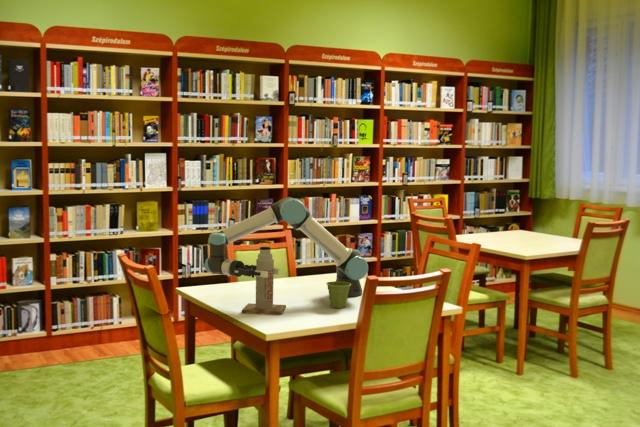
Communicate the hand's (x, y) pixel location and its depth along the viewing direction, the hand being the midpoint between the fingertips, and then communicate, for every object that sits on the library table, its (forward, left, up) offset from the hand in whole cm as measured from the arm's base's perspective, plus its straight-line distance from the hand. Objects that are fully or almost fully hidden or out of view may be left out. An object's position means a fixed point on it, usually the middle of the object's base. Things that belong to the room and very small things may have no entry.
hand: (273, 273), depth 343 cm
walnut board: (+4, -2, -18) cm, 19 cm away
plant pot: (-29, -16, -18) cm, 38 cm away
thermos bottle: (+4, -2, -17) cm, 17 cm away
